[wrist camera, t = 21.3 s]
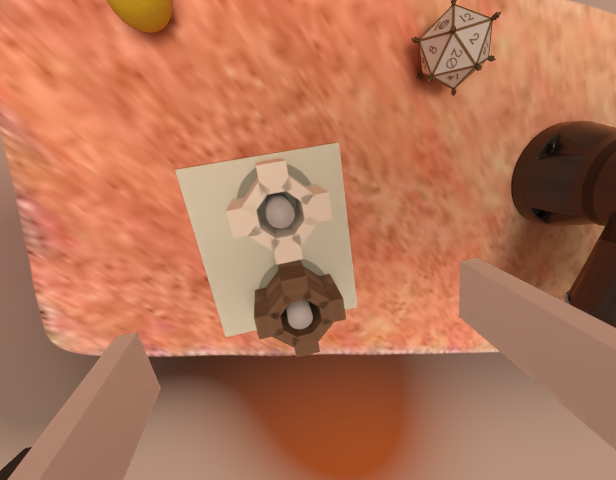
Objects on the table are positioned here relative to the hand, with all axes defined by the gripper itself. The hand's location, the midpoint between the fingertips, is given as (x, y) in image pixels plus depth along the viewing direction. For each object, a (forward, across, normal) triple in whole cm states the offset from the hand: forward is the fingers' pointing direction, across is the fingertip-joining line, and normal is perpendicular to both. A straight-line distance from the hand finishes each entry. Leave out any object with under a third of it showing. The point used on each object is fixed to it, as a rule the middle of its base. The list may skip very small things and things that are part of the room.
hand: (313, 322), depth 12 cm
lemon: (+29, +9, -22) cm, 37 cm away
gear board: (+29, +1, +6) cm, 29 cm away
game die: (+29, -23, -14) cm, 39 cm away
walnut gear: (+27, 0, +13) cm, 30 cm away
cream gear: (+27, 0, 0) cm, 27 cm away
